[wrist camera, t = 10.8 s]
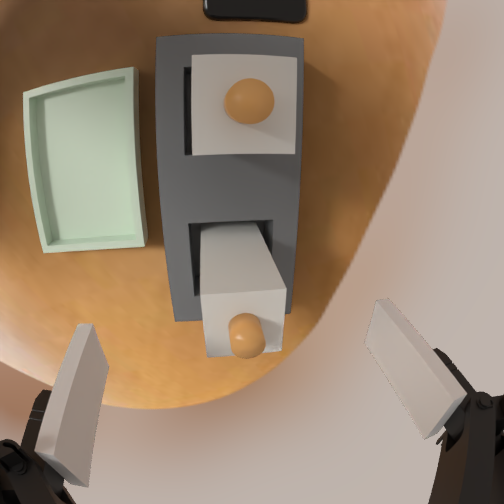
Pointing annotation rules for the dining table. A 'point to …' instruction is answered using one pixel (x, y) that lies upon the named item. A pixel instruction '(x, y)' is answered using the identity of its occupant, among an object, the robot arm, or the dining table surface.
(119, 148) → the tray
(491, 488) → the robot arm
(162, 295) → the dining table surface
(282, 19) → the smartphone
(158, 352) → the dining table surface
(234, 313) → the plug
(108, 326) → the dining table surface
